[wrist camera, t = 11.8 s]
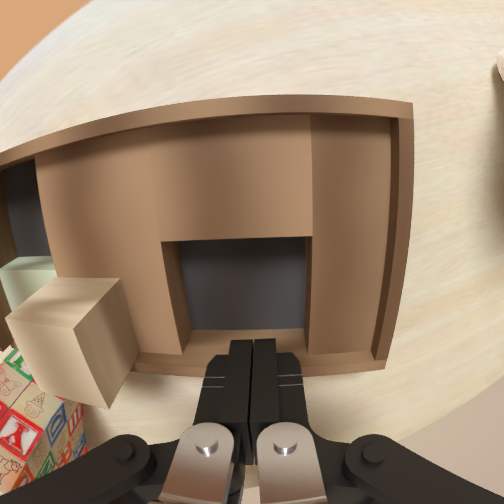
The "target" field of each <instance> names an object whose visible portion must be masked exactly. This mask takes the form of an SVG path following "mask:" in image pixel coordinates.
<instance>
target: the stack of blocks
mask: <svg viewBox="0 0 504 504" xmlns="http://www.w3.org/2000/svg"><path fill="white" fill-rule="evenodd" d="M82 416H83V408H82V403H79V402H76V401H72V400H68V399H65V398H62V397H58V396H55V395H52V394H48V393H45V392H42V391H41V390H40V389H39V387H38V385H37V383H36V382H35V380H34V378H33V376H32V374H31V373H30V371H29V369H28V367H27V365H26V363H25V361H24V359H23V357H22V355H21V353H20V351H19V349H14V350H13V351H12V352H11V353H10V354H9V355H8V356H7V357H6V358H5V359H4V360H3V363H1V364H0V495H3V494H5V493H7V492H10V491H12V490H14V489H16V488H19V487H21V486H23V485H25V484H27V483H29V482H32V481H34V480H36V479H38V478H40V477H42V476H44V475H46V474H48V473H50V472H52V471H54V470H56V469H58V468H60V467H62V466H63V465H65V464H67V463H69V462H71V461H73V460H75V459H77V458H78V457H80V456H82V455H84V454H86V453H87V447H86V444H85V436H84V427H83V417H82Z"/></svg>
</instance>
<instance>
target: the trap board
mask: <svg viewBox="0 0 504 504" xmlns="http://www.w3.org/2000/svg"><path fill="white" fill-rule="evenodd" d="M413 185H414V120H413V103H409V102H402V101H395V100H386V99H377V98H367V97H354V96H337V95H259V96H242V97H229V98H218V99H209V100H200V101H192V102H185V103H178V104H171V105H165V106H159V107H154V108H148V109H143V110H138V111H133V112H128V113H124V114H119V115H115V116H111V117H107V118H103V119H99V120H95V121H91V122H88V123H84V124H80V125H77V126H74V127H70V128H67V129H64V130H61V131H57V132H54V133H51V134H48V135H45V136H43V137H40V138H37V139H34V140H31V141H29V142H26V143H23V144H21V145H18V146H16V147H13V148H11V149H8V150H6V151H4V152H1V153H0V351H2V352H3V351H4V350H5V349H6V348H7V347H8V346H9V345H11V347H12V348H15V349H18V347H17V345H16V343H15V340H14V338H13V336H12V334H11V331H10V329H9V327H8V324H7V322H6V320H5V317H6V316H8V315H9V314H10V313H11V312H12V311H13V310H15V309H16V308H17V307H18V306H19V305H21V304H22V303H23V302H24V301H25V300H27V299H28V298H29V297H30V296H32V295H33V294H34V293H35V292H36V291H38V290H39V289H40V288H42V287H43V286H44V285H45V284H47V283H48V282H49V281H50V280H52V279H53V278H54V277H67V278H120V279H121V283H122V287H123V292H124V296H125V300H126V304H127V308H128V311H129V315H130V319H131V322H132V326H133V330H134V333H135V336H136V340H137V343H138V346H139V350H140V353H139V355H138V356H137V358H136V360H135V362H134V364H133V365H132V367H131V369H130V371H135V372H144V373H153V374H164V375H176V376H191V377H205V372H206V368H207V364H208V363H209V362H210V361H211V360H212V358H213V357H214V356H215V355H226V354H228V353H229V347H230V341H231V340H241V339H253V345H254V339H267V338H276V353H284V352H293V354H294V355H295V356H296V357H297V359H298V360H299V361H300V365H301V372H302V377H309V376H324V375H336V374H347V373H356V372H365V371H373V370H381V369H385V365H386V361H387V358H388V354H389V350H390V346H391V342H392V338H393V333H394V329H395V324H396V320H397V315H398V310H399V305H400V299H401V294H402V288H403V282H404V276H405V269H406V262H407V255H408V247H409V238H410V228H411V217H412V203H413Z"/></svg>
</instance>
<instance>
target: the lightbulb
mask: <svg viewBox="0 0 504 504" xmlns="http://www.w3.org/2000/svg"><path fill="white" fill-rule="evenodd" d="M497 67H498V71H499V73H500V76H501V77H502V79H503V81H504V49H502V50H500V51H499V53H498V55H497Z"/></svg>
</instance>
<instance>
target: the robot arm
mask: <svg viewBox="0 0 504 504" xmlns="http://www.w3.org/2000/svg"><path fill="white" fill-rule="evenodd" d="M254 457H255V464H256V465H258V473H259V487H260V502H261V504H504V497H502V496H500V495H497V494H495V493H493V492H491V491H488V490H486V489H484V488H482V487H480V486H478V485H475V484H473V483H471V482H469V481H467V480H465V479H463V478H461V477H459V476H457V475H455V474H453V473H451V472H449V471H447V470H445V469H443V468H442V467H440V466H438V465H436V464H434V463H432V462H430V461H429V460H427V459H425V458H423V457H421V456H419V455H418V454H416V453H414V452H412V451H411V450H409V449H407V448H405V447H404V446H402V445H400V444H398V443H397V442H395V441H393V440H392V439H390V438H388V437H386V436H383V435H378V434H370V435H365V436H362V437H359V438H357V439H356V440H354V441H353V442H352V443H351V444H349V443H341V442H334V441H329V440H326V439H323V438H321V437H319V436H318V435H317V434H315V433H314V432H313V430H312V429H311V428H310V425H309V423H308V417H307V409H306V401H305V394H304V387H303V379H302V372H301V365H300V361H299V360H298V359H297V357H296V356H295V355H294V354H293V352H284V353H276V338H267V339H254V345H253V339H241V340H231V341H230V347H229V353H228V354H226V355H215V356H214V357H213V358H212V360H211V361H210V362H209V363H208V364H207V368H206V372H205V378H204V380H203V385H202V389H201V393H200V398H199V402H198V406H197V411H196V415H195V419H194V423H193V426H192V427H190V428H188V429H187V430H186V431H185V432H184V433H183V434H182V436H181V438H179V439H178V440H175V441H172V442H167V443H160V444H153V445H147V443H146V442H145V441H144V440H143V439H142V438H140V437H138V436H135V435H130V434H124V435H119V436H116V437H114V438H112V439H110V440H108V441H107V442H105V443H103V444H101V445H100V446H98V447H96V448H94V449H93V450H91V451H89V452H87V453H86V454H84V455H82V456H80V457H78V458H77V459H75V460H73V461H71V462H69V463H67V464H65V465H63V466H62V467H60V468H58V469H56V470H54V471H52V472H50V473H48V474H46V475H44V476H42V477H40V478H38V479H36V480H34V481H32V482H29V483H27V484H25V485H23V486H21V487H19V488H16V489H14V490H12V491H10V492H7V493H5V494H3V495H0V504H241V501H242V495H243V488H244V478H245V465H253V461H254Z"/></svg>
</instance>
